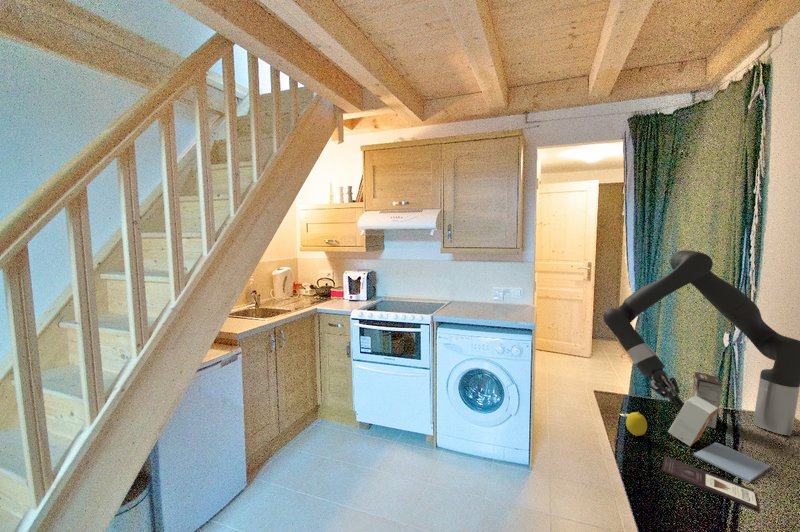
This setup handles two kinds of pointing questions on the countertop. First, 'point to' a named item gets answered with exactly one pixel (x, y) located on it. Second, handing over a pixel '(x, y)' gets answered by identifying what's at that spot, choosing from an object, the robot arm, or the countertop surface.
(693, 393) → the coffee box
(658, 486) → the countertop surface
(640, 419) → the lemon
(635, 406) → the countertop surface
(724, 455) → the flat blue-gray panel
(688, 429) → the small box
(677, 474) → the chocolate bar
